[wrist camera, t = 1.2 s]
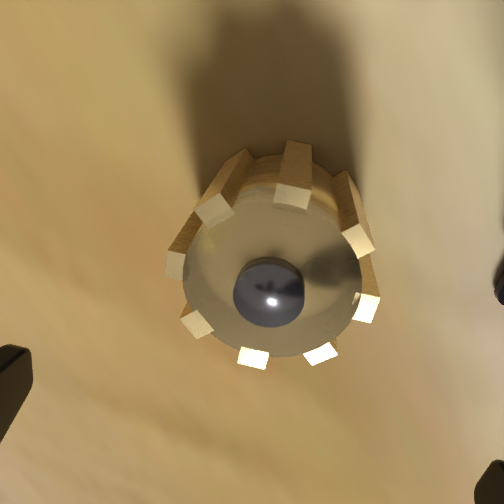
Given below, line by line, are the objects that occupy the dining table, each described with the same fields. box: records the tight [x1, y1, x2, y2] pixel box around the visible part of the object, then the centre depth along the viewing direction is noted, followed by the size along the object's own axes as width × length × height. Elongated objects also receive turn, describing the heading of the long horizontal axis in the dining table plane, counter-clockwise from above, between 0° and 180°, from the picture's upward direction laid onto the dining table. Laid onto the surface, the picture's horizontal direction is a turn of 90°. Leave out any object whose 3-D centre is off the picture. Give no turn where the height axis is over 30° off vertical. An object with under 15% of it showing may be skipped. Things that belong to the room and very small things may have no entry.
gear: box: [165, 140, 380, 369], centre depth 14 cm, size 6×6×6 cm
